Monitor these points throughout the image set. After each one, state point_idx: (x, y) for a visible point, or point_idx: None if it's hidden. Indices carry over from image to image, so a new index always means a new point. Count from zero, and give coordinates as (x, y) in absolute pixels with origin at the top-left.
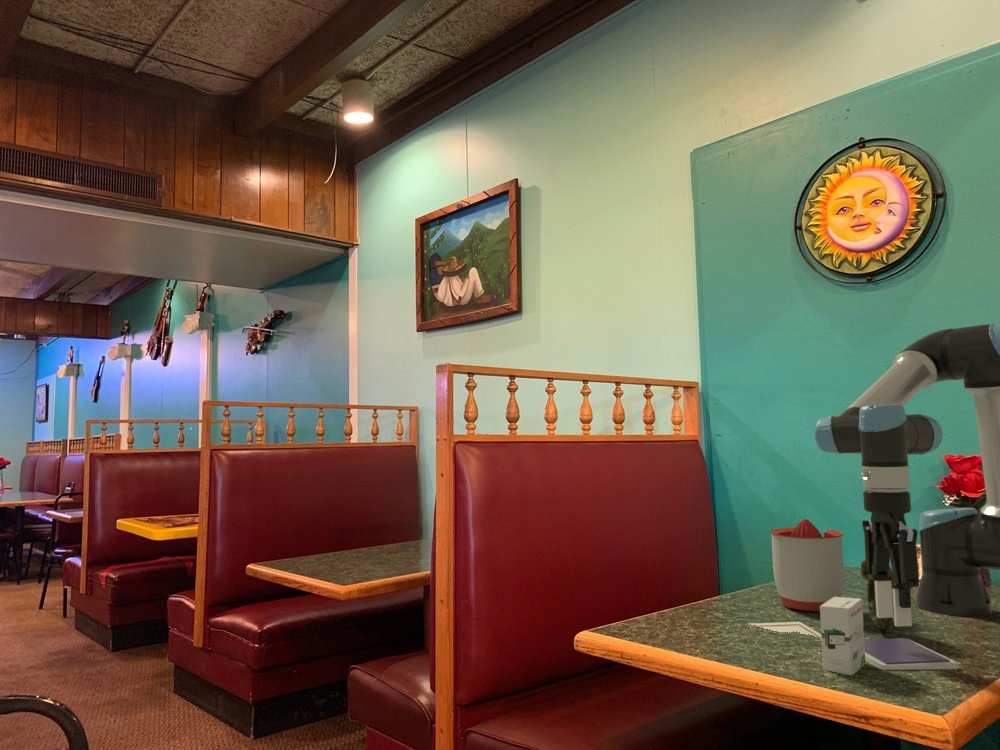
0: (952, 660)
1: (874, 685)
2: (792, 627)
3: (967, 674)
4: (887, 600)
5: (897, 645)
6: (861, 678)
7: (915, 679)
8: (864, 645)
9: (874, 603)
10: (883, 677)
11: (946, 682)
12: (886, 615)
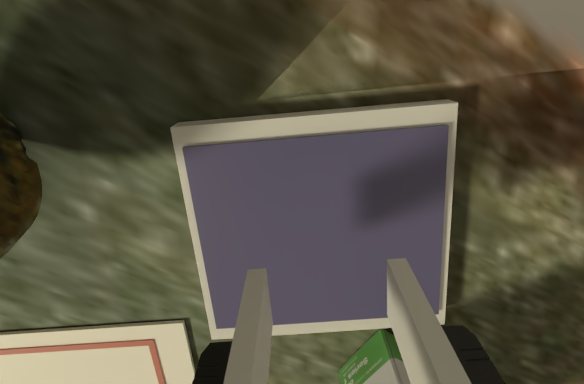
0: (433, 106)
1: (508, 356)
2: (16, 375)
3: (480, 85)
4: (262, 339)
5: (275, 212)
6: None
7: (490, 252)
8: (404, 376)
9: (3, 238)
10: (459, 316)
11: (530, 186)
12: (268, 300)
